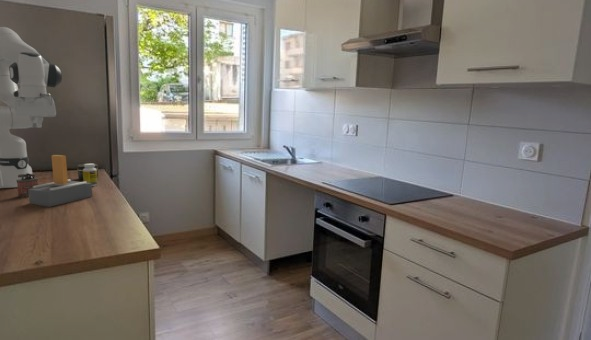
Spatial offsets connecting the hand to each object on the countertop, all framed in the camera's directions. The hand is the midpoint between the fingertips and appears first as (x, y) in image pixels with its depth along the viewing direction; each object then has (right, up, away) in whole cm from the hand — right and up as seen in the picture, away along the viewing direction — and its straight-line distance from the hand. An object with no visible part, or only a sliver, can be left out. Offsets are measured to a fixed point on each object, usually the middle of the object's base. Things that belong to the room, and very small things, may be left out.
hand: (37, 127), depth 159 cm
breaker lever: (+7, -24, +6) cm, 26 cm away
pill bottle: (+3, -26, +36) cm, 44 cm away
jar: (-7, -23, +52) cm, 58 cm away
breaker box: (+6, -31, +7) cm, 32 cm away
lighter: (-12, -29, +13) cm, 34 cm away
